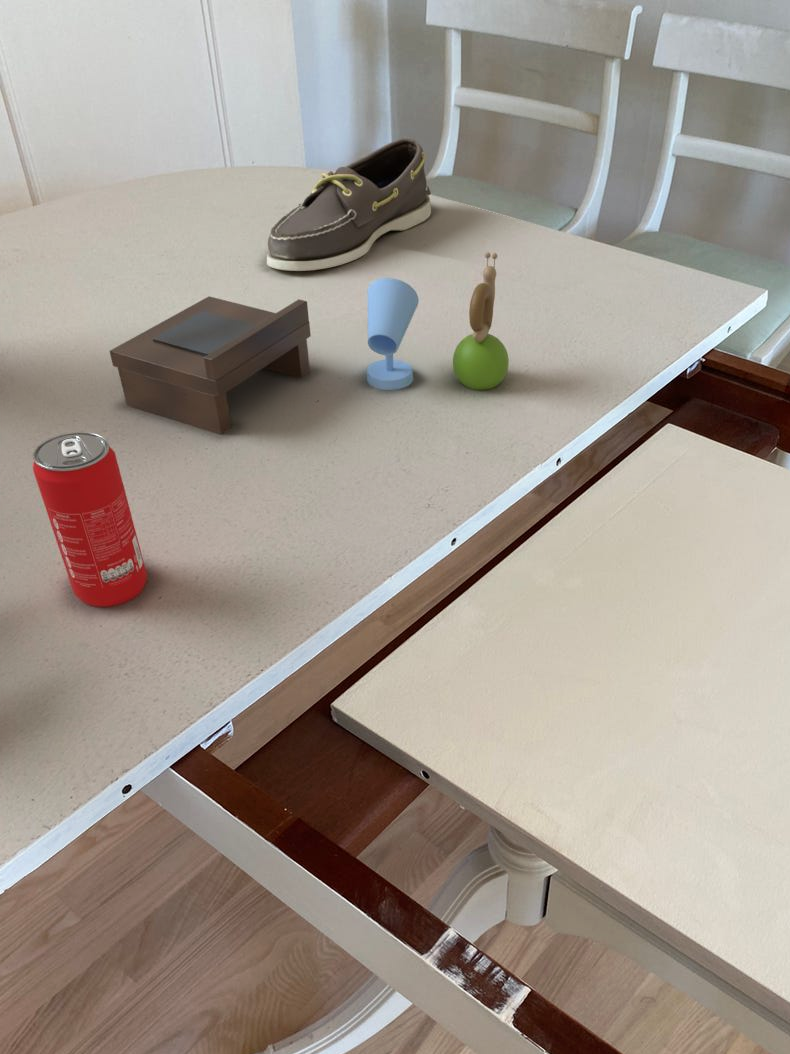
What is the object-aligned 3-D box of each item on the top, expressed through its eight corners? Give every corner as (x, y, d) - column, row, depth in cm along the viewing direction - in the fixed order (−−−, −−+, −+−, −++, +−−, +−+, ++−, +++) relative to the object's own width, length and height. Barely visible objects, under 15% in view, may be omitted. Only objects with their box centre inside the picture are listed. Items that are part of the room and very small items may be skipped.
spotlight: (374, 365, 99) (359, 397, 94) (368, 267, 92) (352, 296, 87) (421, 369, 99) (409, 401, 94) (419, 271, 92) (406, 300, 87)
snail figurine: (514, 374, 98) (520, 254, 90) (501, 403, 94) (506, 280, 86) (462, 367, 99) (463, 248, 91) (446, 396, 95) (446, 274, 87)
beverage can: (81, 623, 69) (32, 477, 61) (72, 581, 72) (25, 438, 64) (155, 604, 70) (118, 461, 62) (143, 564, 74) (106, 423, 66)
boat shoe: (239, 269, 117) (228, 189, 111) (386, 200, 137) (384, 129, 131) (311, 289, 113) (303, 208, 107) (452, 215, 133) (452, 143, 127)
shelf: (124, 410, 91) (103, 329, 86) (218, 352, 101) (205, 276, 95) (227, 443, 87) (212, 359, 82) (315, 379, 97) (307, 300, 91)
